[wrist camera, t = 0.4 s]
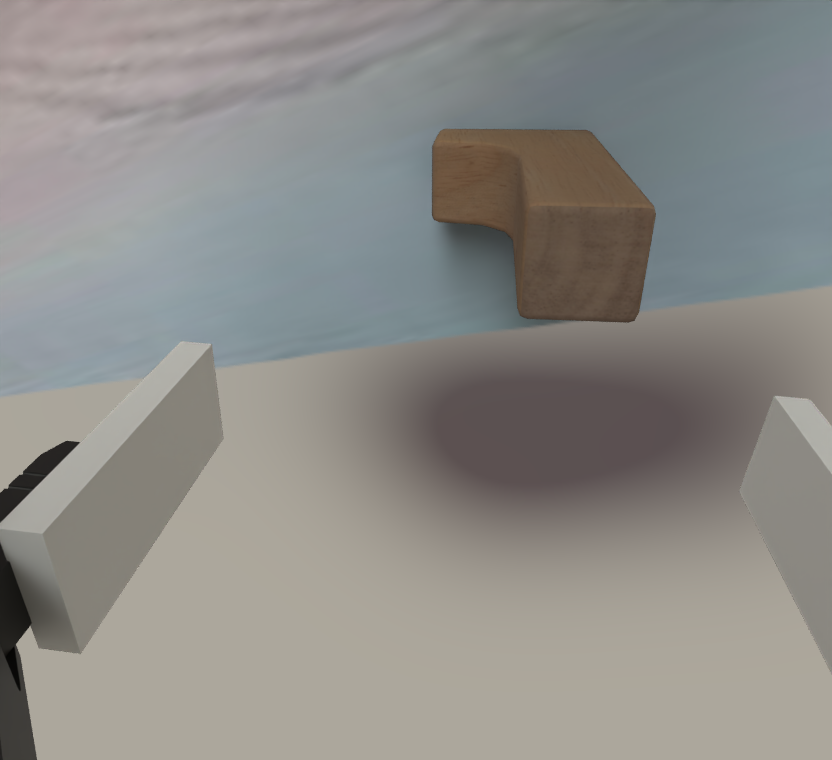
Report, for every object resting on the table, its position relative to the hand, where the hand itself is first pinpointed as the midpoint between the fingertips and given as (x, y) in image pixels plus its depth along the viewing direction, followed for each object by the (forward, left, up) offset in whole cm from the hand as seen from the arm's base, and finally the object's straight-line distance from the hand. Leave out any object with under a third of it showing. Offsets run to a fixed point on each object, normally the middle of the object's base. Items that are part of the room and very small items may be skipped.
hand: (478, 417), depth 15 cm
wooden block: (-1, +1, -28) cm, 28 cm away
